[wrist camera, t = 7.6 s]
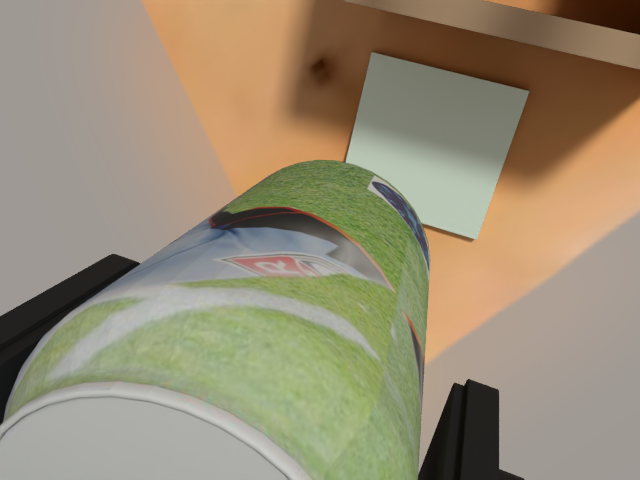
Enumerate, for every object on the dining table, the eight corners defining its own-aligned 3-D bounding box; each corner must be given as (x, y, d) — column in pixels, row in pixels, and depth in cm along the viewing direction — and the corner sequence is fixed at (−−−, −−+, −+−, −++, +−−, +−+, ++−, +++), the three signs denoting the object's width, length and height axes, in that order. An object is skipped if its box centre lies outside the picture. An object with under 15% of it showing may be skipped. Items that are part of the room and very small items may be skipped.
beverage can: (224, 191, 18) (-212, 411, 8) (435, 101, 15) (180, 273, 4) (301, 356, 19) (14, 746, 9) (513, 307, 16) (461, 836, 5)
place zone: (338, 195, 36) (337, 197, 35) (373, 52, 32) (371, 52, 32) (476, 237, 34) (476, 239, 34) (529, 90, 30) (529, 91, 30)
